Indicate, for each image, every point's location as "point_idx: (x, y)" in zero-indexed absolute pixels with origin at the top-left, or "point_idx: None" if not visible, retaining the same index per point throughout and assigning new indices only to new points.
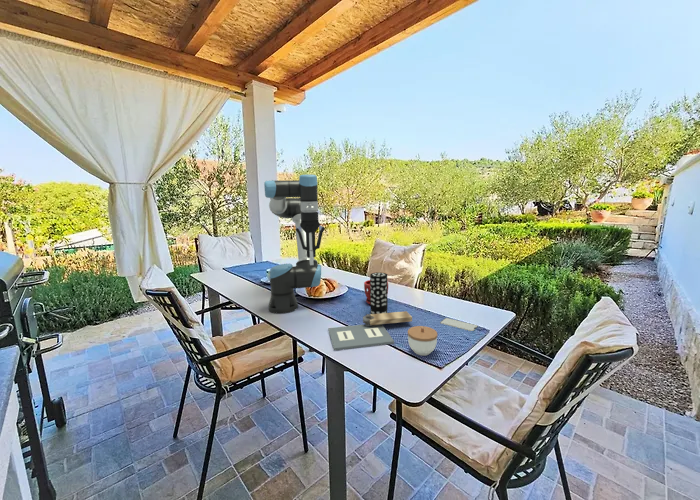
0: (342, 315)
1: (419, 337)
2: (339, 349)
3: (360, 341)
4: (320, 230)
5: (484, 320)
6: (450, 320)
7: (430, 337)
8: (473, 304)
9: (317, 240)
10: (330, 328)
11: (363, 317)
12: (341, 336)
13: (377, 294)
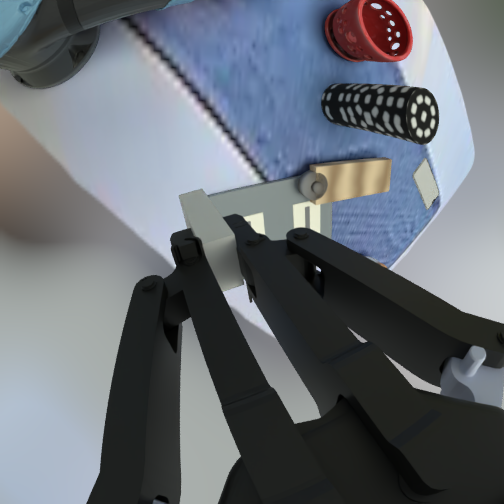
0: (247, 98)
1: None
2: None
3: None
4: (443, 378)
5: (451, 175)
6: (425, 169)
7: None
8: (465, 114)
9: (341, 278)
10: (214, 198)
11: (305, 185)
12: None
13: (374, 131)
